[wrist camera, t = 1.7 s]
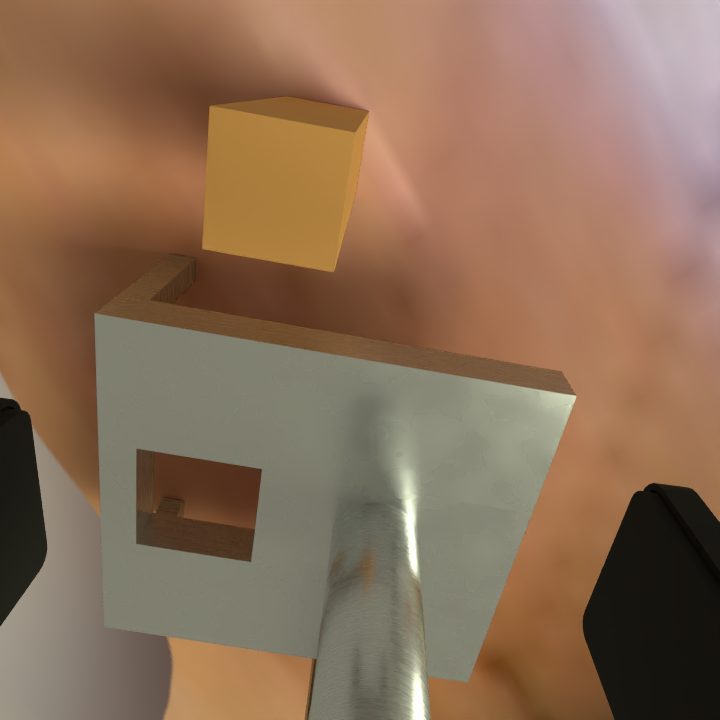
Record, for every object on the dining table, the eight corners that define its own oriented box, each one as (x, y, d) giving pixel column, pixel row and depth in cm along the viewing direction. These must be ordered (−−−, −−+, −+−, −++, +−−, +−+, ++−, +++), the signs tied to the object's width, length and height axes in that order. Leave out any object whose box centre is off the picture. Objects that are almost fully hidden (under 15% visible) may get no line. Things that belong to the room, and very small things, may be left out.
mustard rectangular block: (287, 96, 25) (209, 105, 14) (369, 111, 25) (355, 132, 14) (278, 180, 26) (202, 249, 15) (355, 194, 26) (333, 272, 15)
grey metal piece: (170, 253, 28) (-136, 493, 11) (528, 316, 28) (717, 628, 12) (163, 513, 35) (-35, 893, 18) (451, 559, 35) (506, 967, 19)
